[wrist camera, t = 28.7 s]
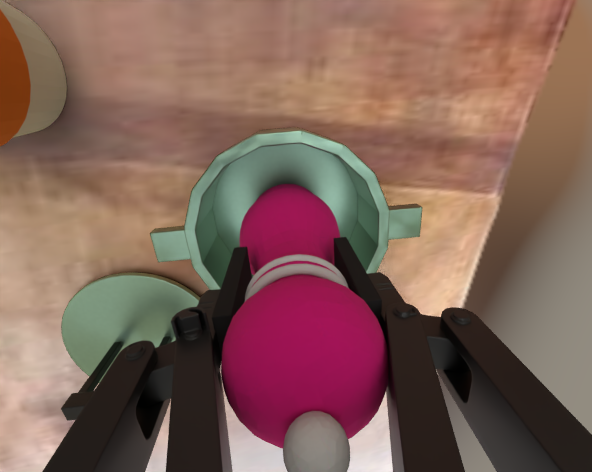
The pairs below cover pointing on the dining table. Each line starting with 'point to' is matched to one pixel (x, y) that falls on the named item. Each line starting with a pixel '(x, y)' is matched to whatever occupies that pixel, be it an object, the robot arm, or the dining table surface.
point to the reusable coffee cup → (27, 76)
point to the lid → (118, 323)
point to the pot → (274, 171)
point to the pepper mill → (301, 337)
